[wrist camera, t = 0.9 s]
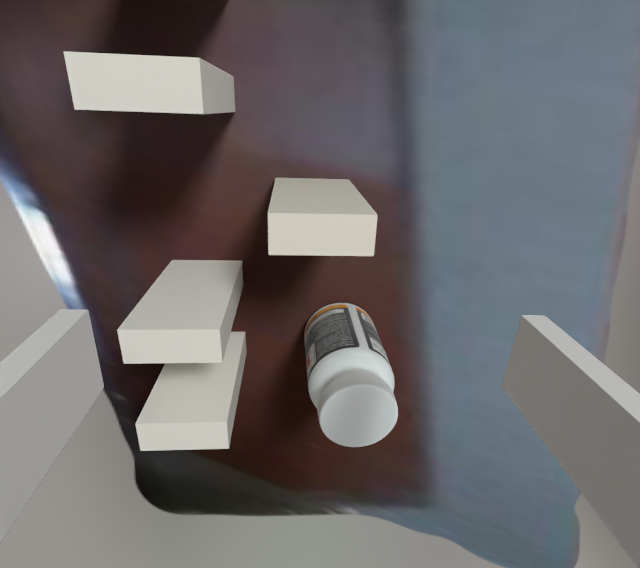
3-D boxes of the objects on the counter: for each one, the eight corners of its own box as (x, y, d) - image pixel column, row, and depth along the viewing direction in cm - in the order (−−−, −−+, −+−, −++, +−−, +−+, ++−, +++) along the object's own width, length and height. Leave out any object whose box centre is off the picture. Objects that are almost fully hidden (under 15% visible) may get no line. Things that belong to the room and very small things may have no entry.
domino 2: (172, 259, 29) (117, 329, 20) (242, 260, 29) (219, 329, 20) (175, 285, 30) (123, 363, 21) (243, 285, 30) (222, 362, 21)
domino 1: (149, 73, 24) (63, 51, 15) (233, 76, 25) (199, 57, 15) (153, 109, 25) (74, 109, 16) (235, 111, 25) (203, 114, 16)
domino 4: (275, 177, 27) (267, 212, 18) (348, 179, 28) (377, 214, 18) (275, 207, 28) (268, 255, 19) (347, 208, 28) (373, 255, 19)
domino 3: (180, 332, 31) (135, 423, 22) (245, 331, 32) (226, 421, 23) (183, 353, 32) (140, 450, 23) (246, 353, 33) (228, 448, 23)
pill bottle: (300, 358, 33) (303, 453, 24) (308, 296, 31) (315, 374, 22) (367, 363, 34) (395, 457, 25) (380, 302, 32) (416, 381, 22)
